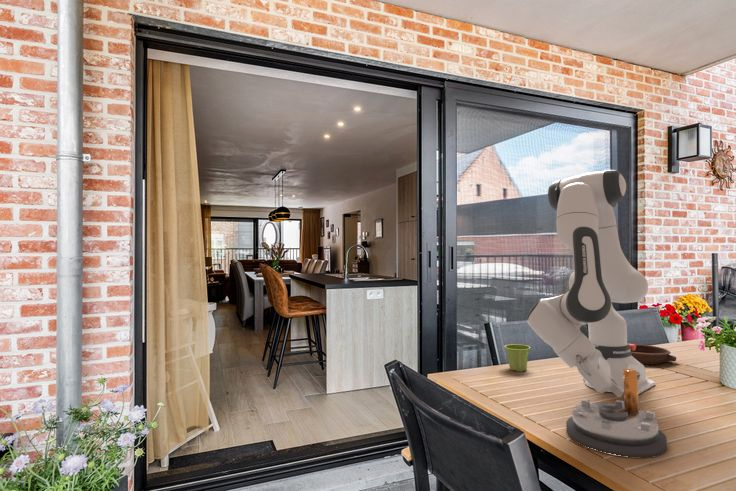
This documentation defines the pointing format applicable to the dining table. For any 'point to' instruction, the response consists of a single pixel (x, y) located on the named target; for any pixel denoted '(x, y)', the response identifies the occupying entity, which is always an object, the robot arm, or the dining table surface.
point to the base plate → (618, 449)
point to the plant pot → (517, 356)
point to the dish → (651, 354)
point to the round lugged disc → (618, 417)
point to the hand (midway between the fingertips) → (621, 394)
